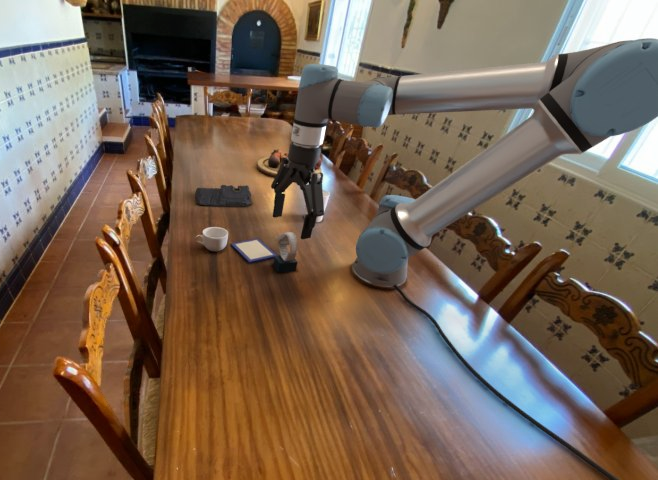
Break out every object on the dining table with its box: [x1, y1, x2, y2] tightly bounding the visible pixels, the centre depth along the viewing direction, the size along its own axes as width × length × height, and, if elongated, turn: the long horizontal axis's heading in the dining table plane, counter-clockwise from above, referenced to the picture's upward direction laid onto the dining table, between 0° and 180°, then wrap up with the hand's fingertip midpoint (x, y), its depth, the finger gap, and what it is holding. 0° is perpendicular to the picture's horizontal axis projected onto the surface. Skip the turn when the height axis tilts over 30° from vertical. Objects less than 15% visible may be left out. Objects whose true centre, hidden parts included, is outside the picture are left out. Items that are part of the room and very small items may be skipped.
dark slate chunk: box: [194, 184, 252, 208], centre depth 142 cm, size 15×22×5 cm
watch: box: [272, 231, 299, 274], centre depth 102 cm, size 6×8×11 cm
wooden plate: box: [256, 148, 323, 178], centre depth 175 cm, size 32×32×8 cm
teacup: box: [195, 226, 229, 252], centre depth 110 cm, size 10×8×5 cm
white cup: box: [303, 189, 331, 223], centre depth 131 cm, size 8×8×10 cm
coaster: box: [230, 238, 278, 264], centre depth 112 cm, size 12×10×1 cm
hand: (290, 226), depth 97 cm, fingers open, 13 cm apart
